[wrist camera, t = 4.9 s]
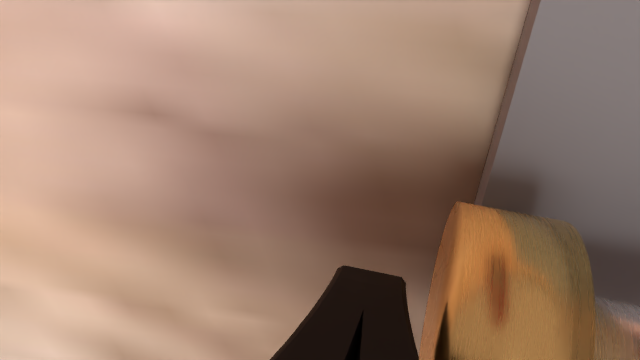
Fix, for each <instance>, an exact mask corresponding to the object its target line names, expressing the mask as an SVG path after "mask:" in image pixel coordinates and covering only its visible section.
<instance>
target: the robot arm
mask: <svg viewBox="0 0 640 360" xmlns="http://www.w3.org/2000/svg"><path fill="white" fill-rule="evenodd" d="M270 360H419V357H418V353H417V349H416V346H415V342H414V337H413V333H412V328H411V323H410V318H409V313H408V306H407V298H406V283H405V281H404V280H403V279H402V277H398V276H394V275H389V274H384V273H379V272H374V271H369V270H364V269H359V268H354V267H349V266H342V267H340V268H338V269H337V271H336V273H335V275H334V277H333V279H332V280H331V282H330V284H329V285H328V287H327V288H326V290H325V291H324V293H323V294H322V296H321V297H320V299H319V300H318V302H317V303H316V304H315V306H314V307H313V309H312V310H311V311H310V313H309V314H308V315H307V316H306V318H305V319H304V320H303V321H302V323H301V324H300V325H299V327H298V328H297V329H296V330H295V332H294V333H293V334H292V335H291V337H290V338H289V339H288V340H287V341H286V342H285V344H284V345H283V346H282V347H281V348H280V349H279V350H278V351H277V352H276V353H275V355H274V356H273V357H272V358H271V359H270Z"/></svg>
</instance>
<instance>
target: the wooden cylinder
mask: <svg viewBox="0 0 640 360" xmlns="http://www.w3.org/2000/svg"><path fill="white" fill-rule="evenodd" d="M419 360H640V305H636V304H631V303H626V302H621V301H616V300H611V299H606V298H601V297H596V296H594V286H593V277H592V272H591V266H590V261H589V257H588V254H587V250H586V247H585V245H584V242H583V240H582V237H581V236H580V234H579V232H578V231H577V229H576V228H575V227H574V226H573V225H572V224H570V223H568V222H566V221H562V220H556V219H551V218H545V217H540V216H534V215H529V214H523V213H518V212H513V211H507V210H502V209H496V208H491V207H485V206H480V205H474V204H469V203H464V202H456V203H455V204H454V206H453V208H452V210H451V212H450V214H449V217H448V220H447V223H446V226H445V229H444V232H443V235H442V239H441V243H440V247H439V250H438V255H437V259H436V263H435V267H434V272H433V277H432V281H431V286H430V291H429V297H428V302H427V308H426V313H425V319H424V325H423V331H422V338H421V345H420V352H419Z"/></svg>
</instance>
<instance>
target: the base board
mask: <svg viewBox="0 0 640 360" xmlns="http://www.w3.org/2000/svg"><path fill="white" fill-rule="evenodd" d="M474 205H480V206H485V207H491V208H496V209H502V210H507V211H513V212H518V213H523V214H529V215H534V216H540V217H545V218H551V219H556V220H562V221H566V222H568V223H570V224H572V225H573V226H574V227H575V228H576V229H577V231H578V232H579V234H580V236H581V237H582V240H583V242H584V245H585V247H586V250H587V254H588V257H589V261H590V266H591V272H592V277H593V286H594V296H596V297H601V298H606V299H611V300H616V301H621V302H626V303H631V304H636V305H640V0H531V2H530V6H529V10H528V13H527V17H526V20H525V24H524V27H523V31H522V34H521V38H520V42H519V45H518V49H517V52H516V56H515V59H514V63H513V67H512V70H511V74H510V77H509V81H508V84H507V88H506V92H505V95H504V99H503V102H502V106H501V109H500V113H499V116H498V120H497V124H496V127H495V131H494V134H493V138H492V141H491V145H490V149H489V152H488V156H487V159H486V163H485V166H484V170H483V174H482V177H481V181H480V184H479V188H478V191H477V195H476V198H475V202H474Z"/></svg>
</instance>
